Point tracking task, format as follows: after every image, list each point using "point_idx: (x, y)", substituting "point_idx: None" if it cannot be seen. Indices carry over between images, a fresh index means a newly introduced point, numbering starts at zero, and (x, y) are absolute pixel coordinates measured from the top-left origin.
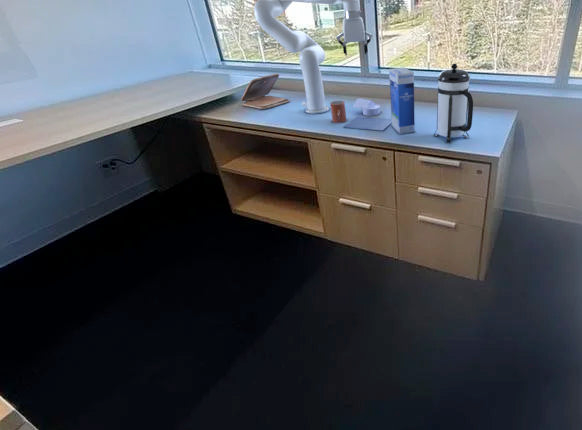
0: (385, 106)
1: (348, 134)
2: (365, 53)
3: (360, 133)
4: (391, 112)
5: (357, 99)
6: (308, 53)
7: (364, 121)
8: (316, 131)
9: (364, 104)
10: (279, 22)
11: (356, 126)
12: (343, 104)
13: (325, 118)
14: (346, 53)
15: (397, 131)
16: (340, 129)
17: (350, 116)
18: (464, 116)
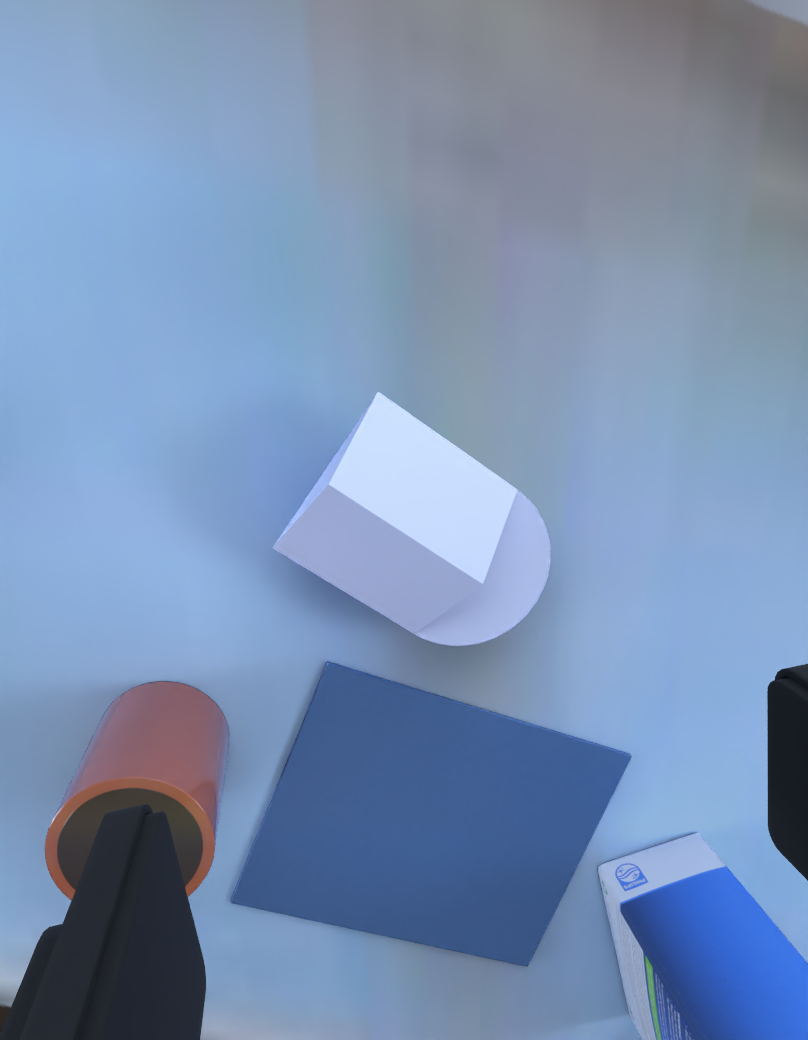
0: (591, 336)
1: (286, 1023)
2: (790, 850)
3: (372, 1004)
4: (645, 954)
5: (326, 498)
6: None
7: (393, 785)
8: (12, 976)
9: (405, 590)
10: None
11: (334, 892)
12: (208, 866)
13: (4, 664)
14: (189, 1029)
15: (621, 977)
16: (209, 934)
17: (253, 625)
18: None
